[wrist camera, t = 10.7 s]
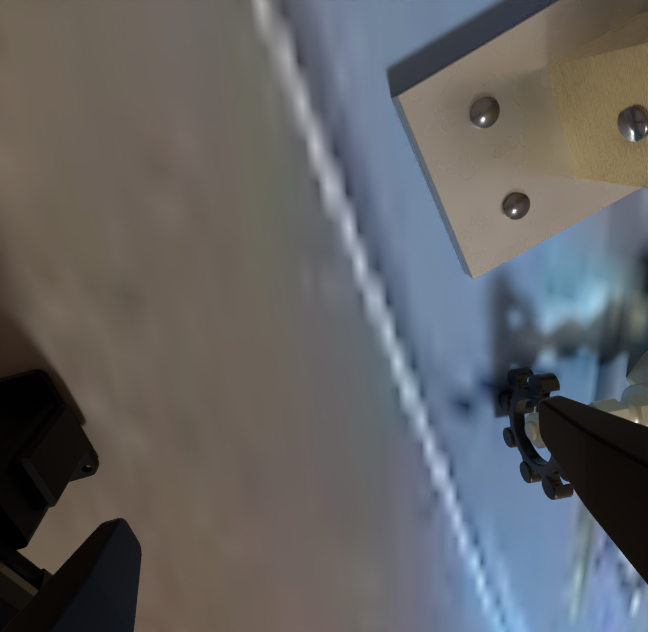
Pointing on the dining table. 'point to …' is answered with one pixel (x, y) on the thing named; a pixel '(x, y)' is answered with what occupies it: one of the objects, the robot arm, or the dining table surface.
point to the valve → (636, 405)
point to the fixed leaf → (508, 136)
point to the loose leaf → (607, 104)
